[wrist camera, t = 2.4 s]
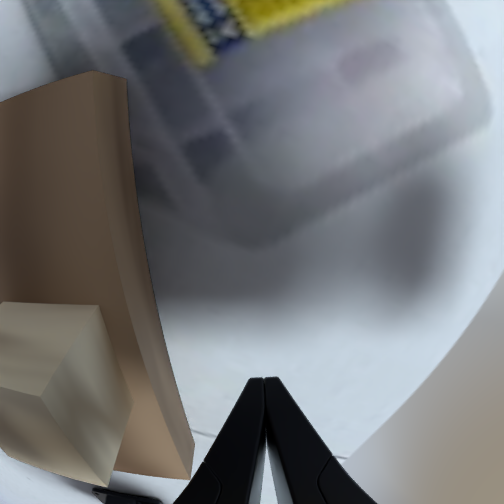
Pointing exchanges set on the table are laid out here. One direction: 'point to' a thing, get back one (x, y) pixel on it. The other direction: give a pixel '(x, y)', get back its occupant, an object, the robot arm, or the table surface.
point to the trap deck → (90, 246)
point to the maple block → (61, 390)
